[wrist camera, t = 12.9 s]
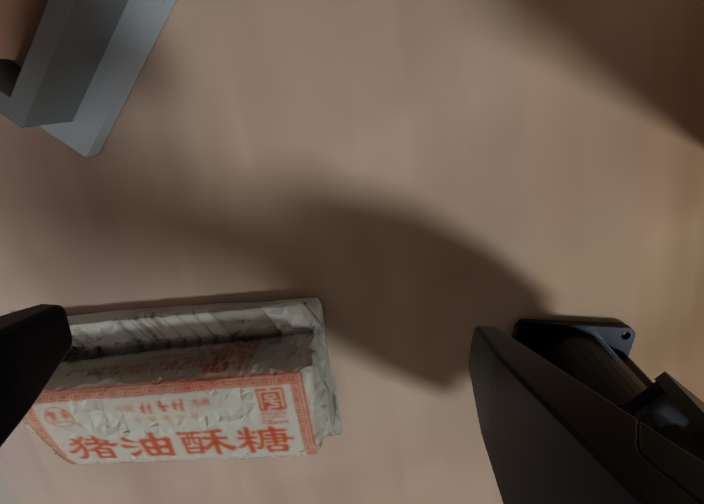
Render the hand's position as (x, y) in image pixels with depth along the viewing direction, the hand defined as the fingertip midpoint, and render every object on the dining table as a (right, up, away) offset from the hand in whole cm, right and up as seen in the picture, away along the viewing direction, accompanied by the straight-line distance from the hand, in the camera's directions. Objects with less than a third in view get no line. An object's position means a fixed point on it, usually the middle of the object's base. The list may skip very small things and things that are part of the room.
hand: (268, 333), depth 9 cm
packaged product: (-8, -6, +18) cm, 20 cm away
